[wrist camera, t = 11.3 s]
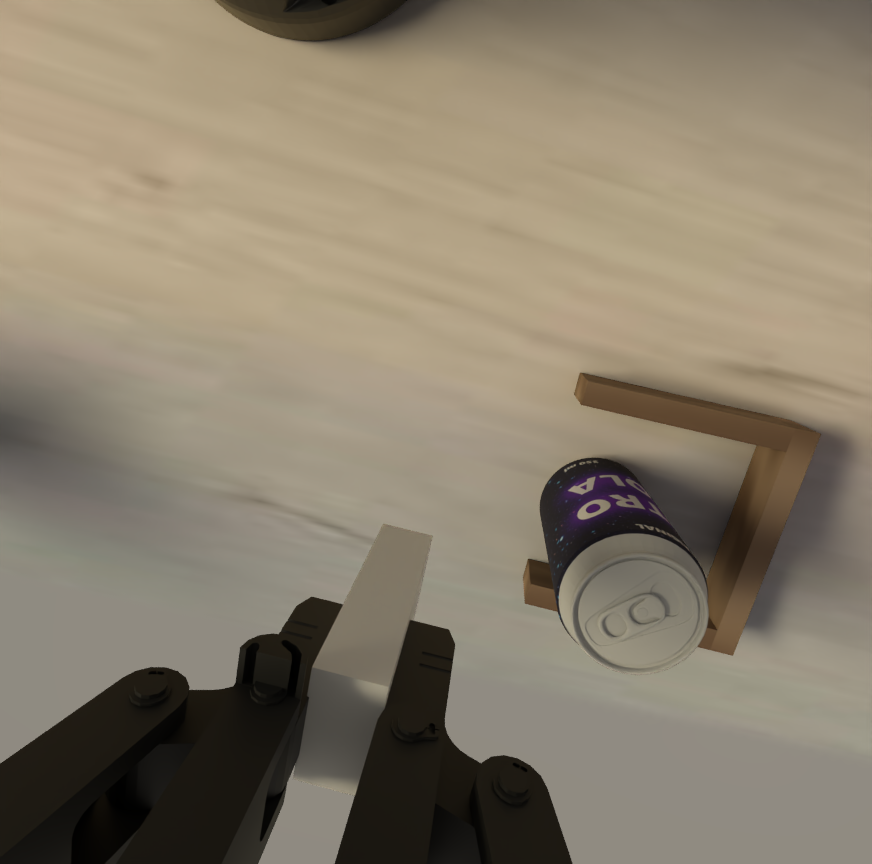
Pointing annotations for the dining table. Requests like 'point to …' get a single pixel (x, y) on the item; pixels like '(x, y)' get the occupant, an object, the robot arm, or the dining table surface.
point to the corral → (753, 511)
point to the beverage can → (620, 570)
